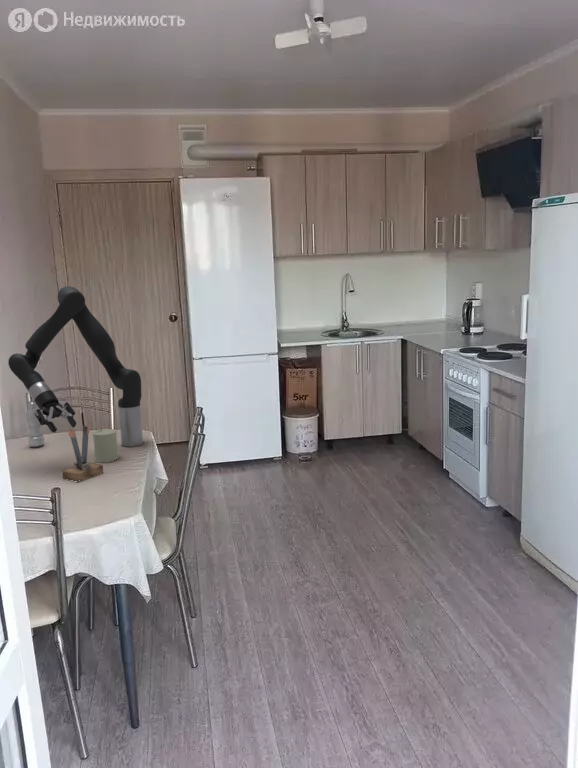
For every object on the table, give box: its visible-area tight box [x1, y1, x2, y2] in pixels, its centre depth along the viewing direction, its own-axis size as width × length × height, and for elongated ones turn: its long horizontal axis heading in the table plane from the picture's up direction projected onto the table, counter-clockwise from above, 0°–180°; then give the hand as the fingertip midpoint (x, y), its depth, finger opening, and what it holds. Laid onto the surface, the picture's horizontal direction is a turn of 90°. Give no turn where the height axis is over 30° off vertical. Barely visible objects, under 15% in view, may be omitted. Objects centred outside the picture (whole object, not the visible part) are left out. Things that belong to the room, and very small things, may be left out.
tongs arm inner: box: [81, 425, 91, 464], centre depth 233 cm, size 1×3×15 cm, turn 57°
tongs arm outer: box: [67, 429, 83, 468], centre depth 230 cm, size 1×3×15 cm, turn 57°
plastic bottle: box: [25, 400, 45, 448], centre depth 272 cm, size 6×7×20 cm
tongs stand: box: [61, 461, 104, 482], centre depth 233 cm, size 12×8×5 cm, turn 147°
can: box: [92, 428, 120, 463], centre depth 252 cm, size 9×9×12 cm
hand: (65, 428), depth 234 cm, fingers open, 8 cm apart
